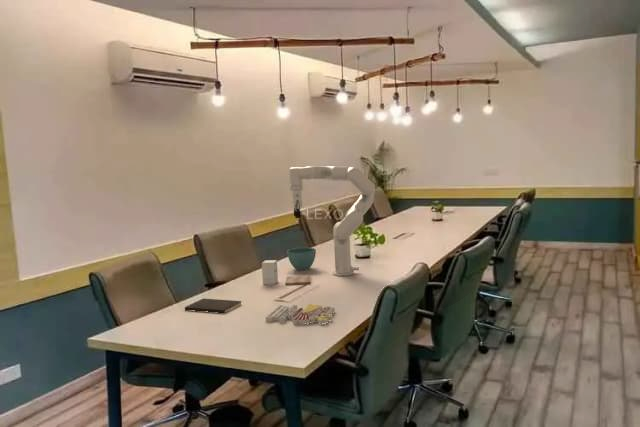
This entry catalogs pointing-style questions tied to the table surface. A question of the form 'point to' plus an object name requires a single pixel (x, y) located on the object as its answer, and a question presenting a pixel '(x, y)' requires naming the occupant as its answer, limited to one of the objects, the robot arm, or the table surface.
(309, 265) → the teal bowl
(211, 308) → the hardcover book
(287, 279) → the walnut board
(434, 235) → the table surface
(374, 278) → the table surface
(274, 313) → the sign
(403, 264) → the table surface
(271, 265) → the supplement box
